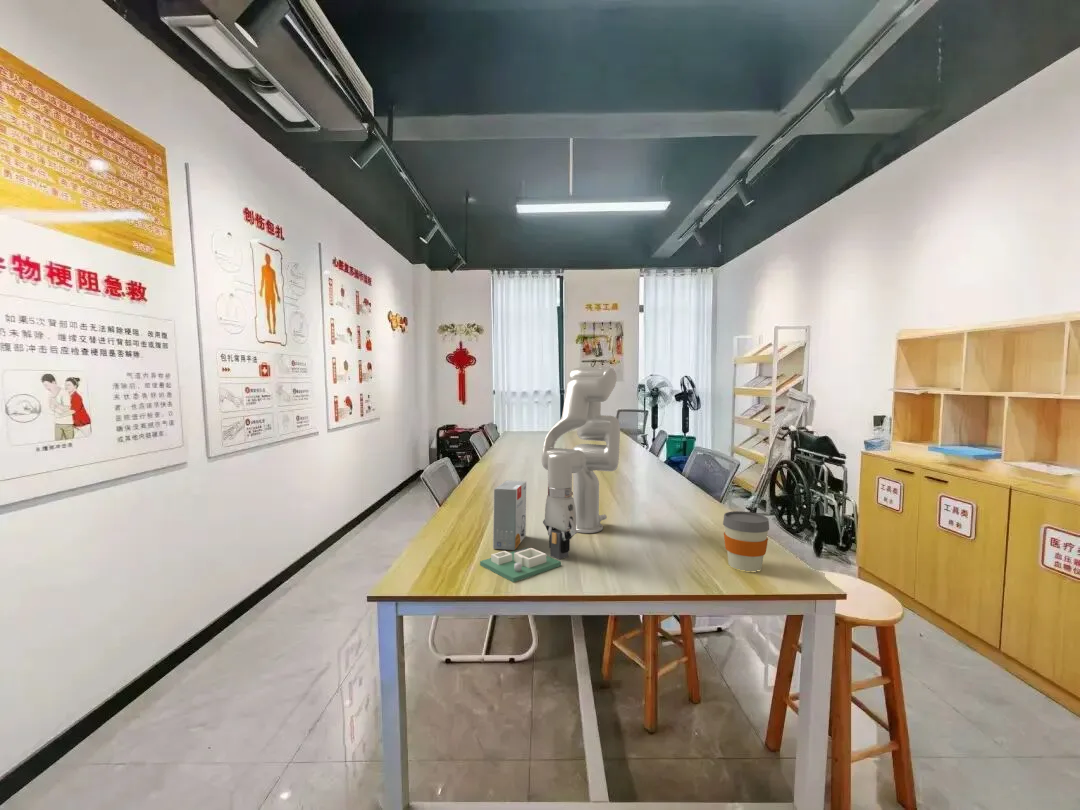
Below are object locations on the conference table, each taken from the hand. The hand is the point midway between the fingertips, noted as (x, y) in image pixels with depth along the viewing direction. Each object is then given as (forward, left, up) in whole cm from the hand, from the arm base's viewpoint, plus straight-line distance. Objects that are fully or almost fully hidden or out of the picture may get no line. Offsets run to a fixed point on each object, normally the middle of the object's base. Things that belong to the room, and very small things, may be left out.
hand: (559, 549), depth 147 cm
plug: (0, 0, -2) cm, 2 cm away
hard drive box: (+4, -20, -2) cm, 21 cm away
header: (+12, 0, -1) cm, 12 cm away
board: (+14, -2, -2) cm, 14 cm away
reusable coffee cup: (-36, +42, -2) cm, 55 cm away
